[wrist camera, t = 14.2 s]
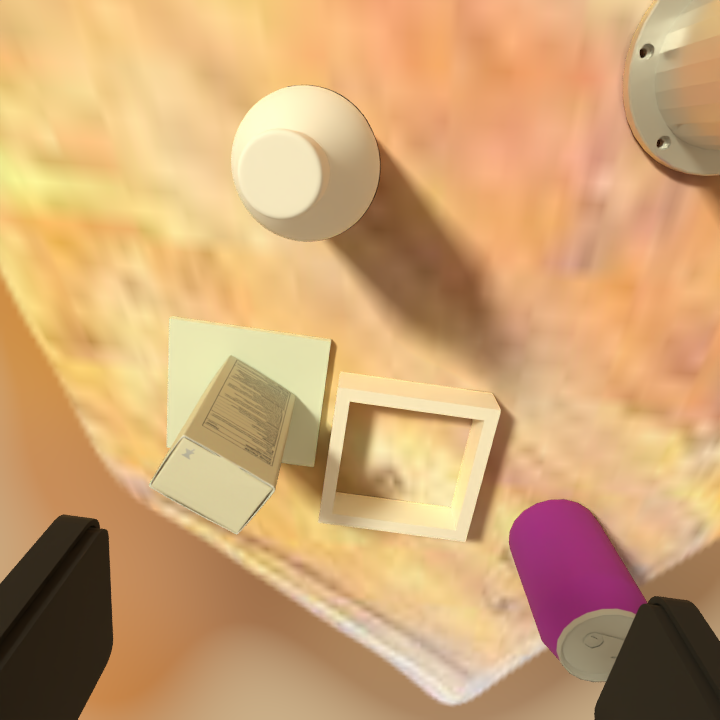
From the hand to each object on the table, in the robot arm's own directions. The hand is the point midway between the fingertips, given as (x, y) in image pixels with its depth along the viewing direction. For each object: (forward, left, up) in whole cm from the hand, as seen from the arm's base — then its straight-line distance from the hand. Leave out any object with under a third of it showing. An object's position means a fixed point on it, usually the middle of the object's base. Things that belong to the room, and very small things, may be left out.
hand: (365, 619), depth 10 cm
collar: (-5, +15, -32) cm, 35 cm away
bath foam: (+4, -6, -32) cm, 33 cm away
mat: (+8, +12, -32) cm, 35 cm away
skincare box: (+7, +12, -31) cm, 34 cm away
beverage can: (-19, +21, -32) cm, 42 cm away
